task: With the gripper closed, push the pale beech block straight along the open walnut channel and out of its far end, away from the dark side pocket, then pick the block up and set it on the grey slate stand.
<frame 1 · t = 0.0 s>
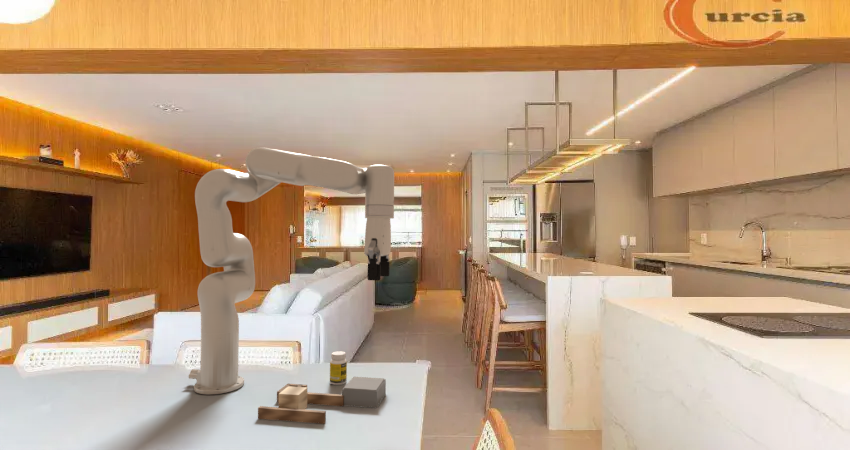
hand: (378, 278, 114), 31 cm above the table, tool pointing down, fingers open, 9 cm apart
channel: (300, 411, 105), on the table
block: (293, 411, 105), on the table
supplement bottle: (338, 383, 125), on the table
stand: (364, 399, 113), on the table
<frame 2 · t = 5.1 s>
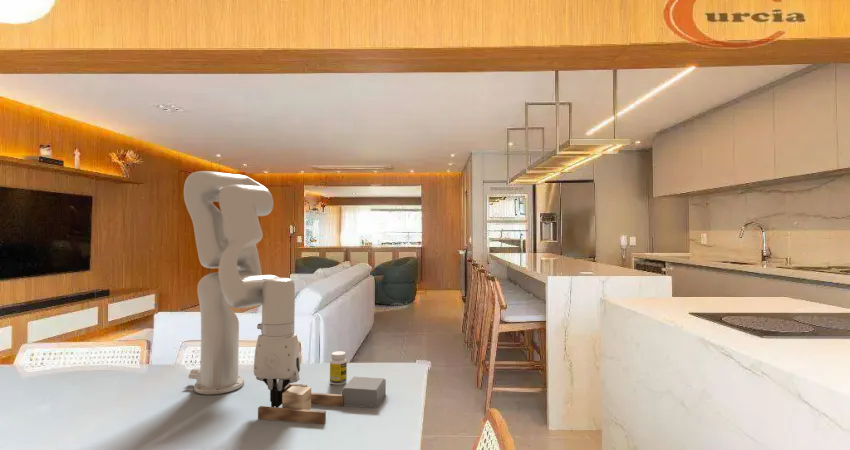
hand: (277, 404, 106), 1 cm above the table, tool pointing down, fingers closed
block: (296, 411, 105), on the table, touching gripper
everything else where it was.
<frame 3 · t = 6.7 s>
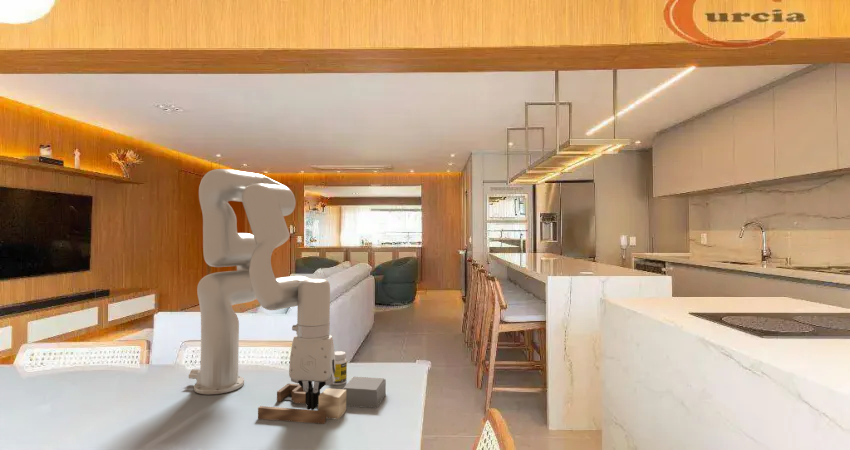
hand: (312, 407, 105), 1 cm above the table, tool pointing down, fingers closed
block: (332, 413, 104), on the table, touching gripper
everything else where it was.
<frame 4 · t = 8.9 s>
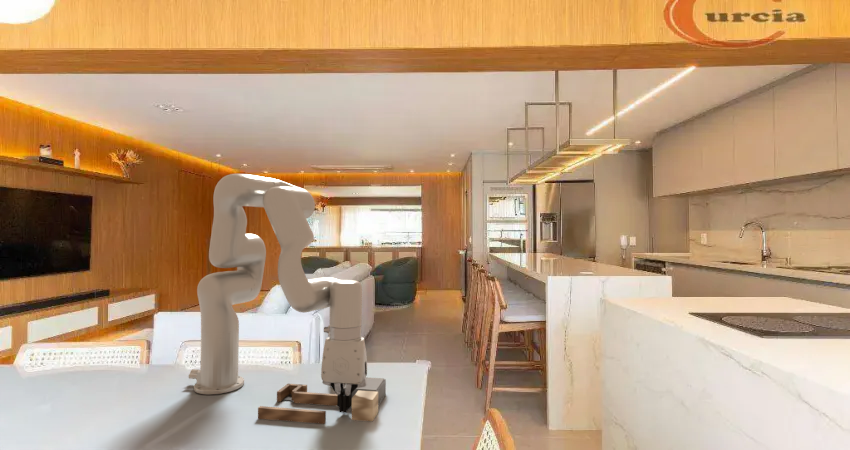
hand: (344, 410, 103), 1 cm above the table, tool pointing down, fingers closed
block: (365, 416, 103), on the table, touching gripper
everything else where it was.
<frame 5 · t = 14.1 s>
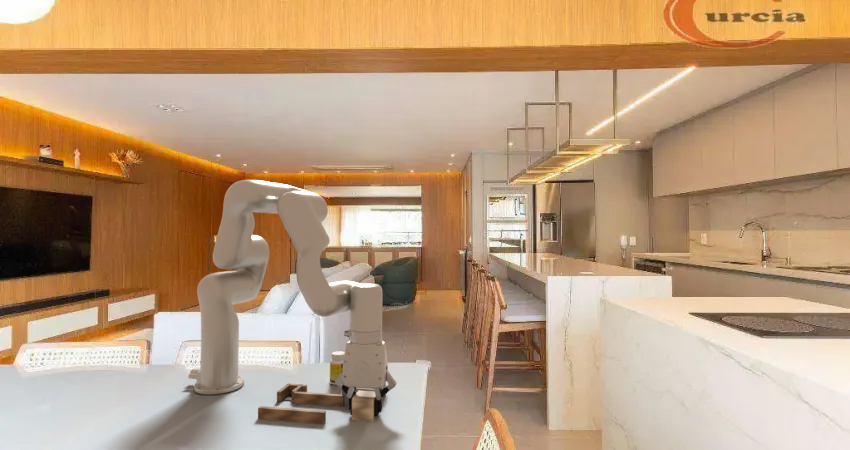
hand: (365, 413, 103), 1 cm above the table, tool pointing down, fingers closed on block, 5 cm apart
block: (365, 416, 103), on the table, touching gripper
everything else where it was.
when the fingers open (6 cm above the table, at t = 18.1 s): block drops 1 cm, resting on stand.
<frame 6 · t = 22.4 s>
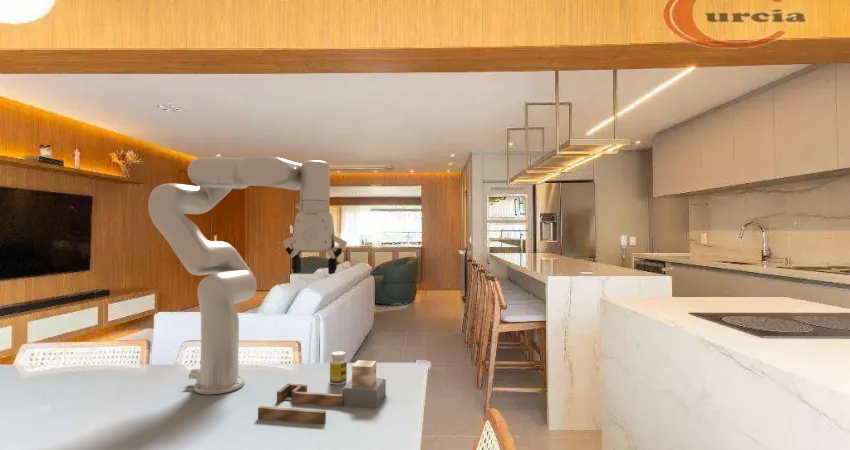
hand: (314, 273, 115), 32 cm above the table, tool pointing down, fingers open, 9 cm apart
block: (364, 382, 113), point 4 cm above the table, touching stand
everything else where it was.
at the end: block 0.1 cm off-centre on the stand, point 4.3 cm above the stand's base; block tilted 0°; the gripper is holding nothing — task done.
